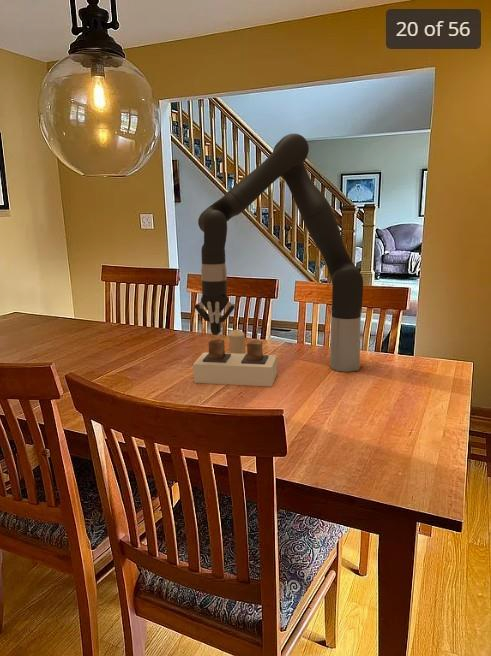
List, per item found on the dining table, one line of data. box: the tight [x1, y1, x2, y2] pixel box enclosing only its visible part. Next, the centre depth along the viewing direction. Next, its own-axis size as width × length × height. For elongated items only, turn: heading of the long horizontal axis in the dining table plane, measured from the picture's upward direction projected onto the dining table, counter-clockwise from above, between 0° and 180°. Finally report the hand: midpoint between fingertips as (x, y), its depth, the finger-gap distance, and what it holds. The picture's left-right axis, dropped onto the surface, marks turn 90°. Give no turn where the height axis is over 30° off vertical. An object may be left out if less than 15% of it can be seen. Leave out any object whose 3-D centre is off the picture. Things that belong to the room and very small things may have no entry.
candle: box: [228, 329, 246, 354], centre depth 172 cm, size 6×6×10 cm
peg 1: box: [208, 338, 226, 359], centre depth 153 cm, size 4×4×7 cm
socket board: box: [192, 351, 278, 387], centre depth 153 cm, size 24×12×7 cm, turn 79°
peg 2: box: [246, 339, 264, 361], centre depth 150 cm, size 4×4×7 cm
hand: (215, 334), depth 152 cm, fingers closed
